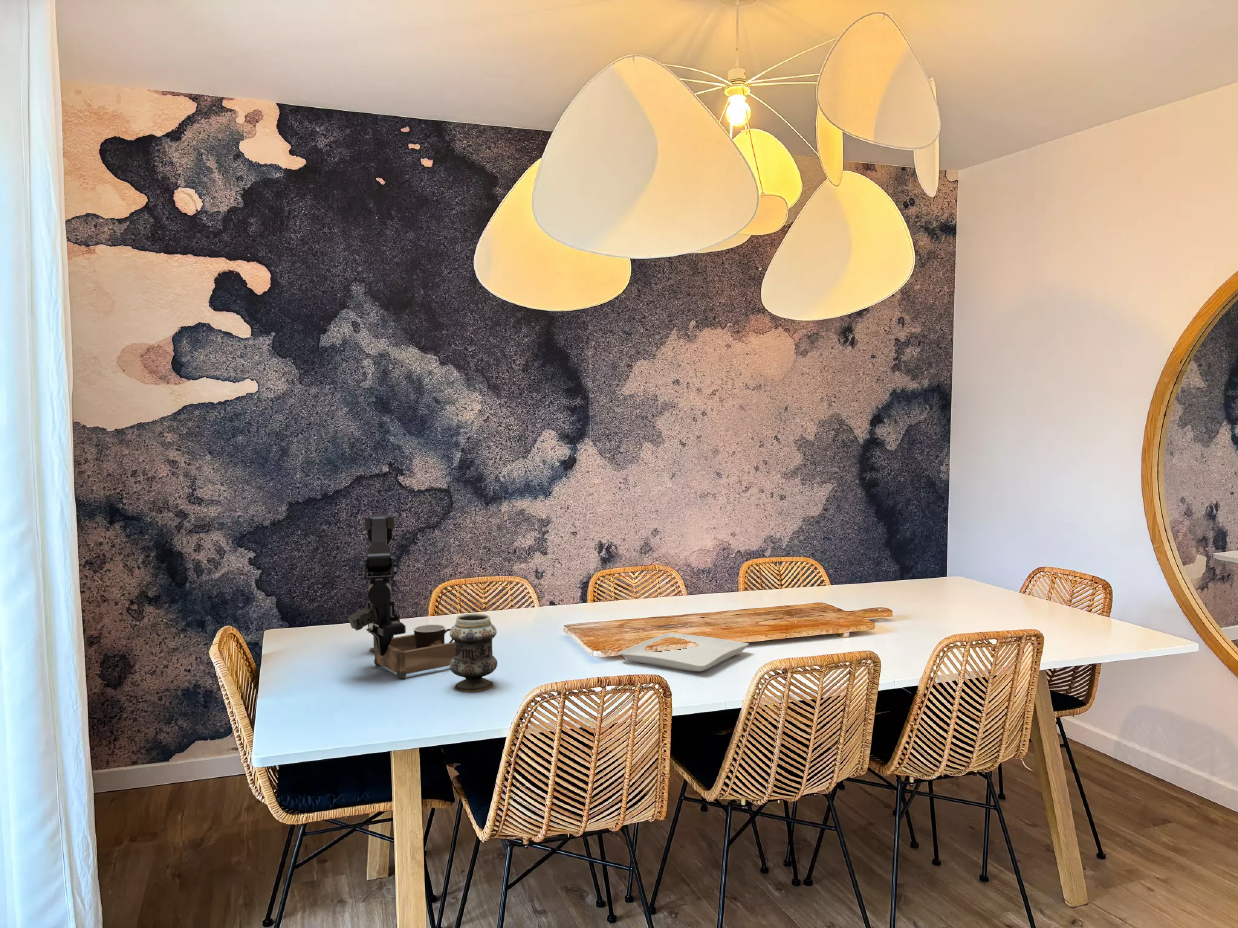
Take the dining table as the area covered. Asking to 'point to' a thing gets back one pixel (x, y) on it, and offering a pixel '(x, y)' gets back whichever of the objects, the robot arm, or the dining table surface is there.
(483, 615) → the apothecary jar
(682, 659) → the square plate
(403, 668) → the caster frame
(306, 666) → the dining table surface
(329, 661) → the dining table surface
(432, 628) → the coffee mug
